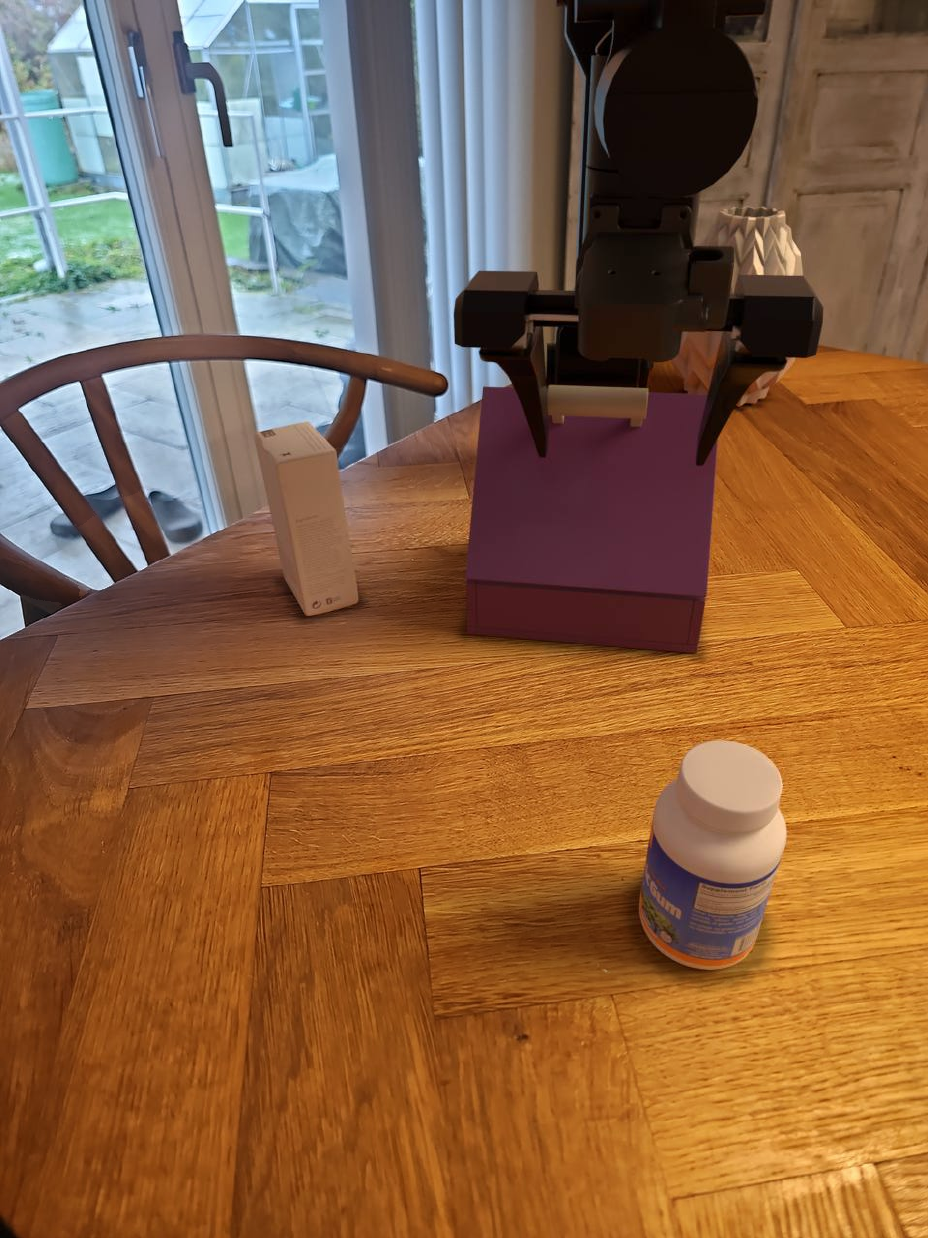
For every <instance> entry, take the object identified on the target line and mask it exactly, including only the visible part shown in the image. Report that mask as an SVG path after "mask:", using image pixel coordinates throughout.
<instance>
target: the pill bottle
mask: <svg viewBox="0 0 928 1238" xmlns="http://www.w3.org/2000/svg"><path fill="white" fill-rule="evenodd" d="M783 785H784V784H783V778H782V775H781V773H780V771H779V769H778V767H777V766H776V764H775V763H774V762H773V761H772V760H771V759H770V758H769V757H768V756H767V755H765V754H764V753H763V752H761V751H760V750H758V749H756V748H754V747H752V746H750V745H747V744H744V743H741V742H737V741H734V740H733V741H732V740H723V739H722V740H720V739H718V740H709V741H704V742H702V743H699V744H696V745H694V746H693V747H692V748H690V749H689V750H688V751H687V752H686V753H684V756H683V758H682V759H681V761H680V765H679V769H678V774H677V777H676V778H675V779H673V780H672V781H670V782H669V783H668V784H667V785H666V786H665V787H663V789H662V791H661V792H660V794H659V795H658V797H657V798H656V802H655V805H654V809H653V815H652V819H651V826H650V830H649V831H650V832H649V838H648V844H647V851H646V857H645V862H644V869H643V875H642V880H641V885H640V886H641V887H640V892H639V901H638V914H639V920H640V923H641V926H642V929H643V931H644V933H645V935H646V937H647V938H648V939H649V941H650V942H651V943H652V945H653V946H654V947H655V948H656V949H657V950H659V951H660V952H661V953H662V954H663V955H664V956H666V957H667V958H669V959H671V960H672V961H674V962H676V963H678V964H681V965H683V966H685V967H689V968H694V969H698V970H708V971H710V970H711V971H712V970H713V971H714V970H721V969H727V968H729V967H730V968H731V967H732V966H734V965H736V964H738V963H740V962H741V961H742V960H744V959H745V958H747V956H748V955H749V953H750V952H751V951H752V949H753V947H754V946H755V943H756V941H757V938H758V935H759V932H760V928H761V926H762V925H761V924H762V921H763V919H764V915H765V911H766V909H767V904H768V901H769V898H770V895H771V892H772V889H773V886H774V883H775V880H776V877H777V873H778V871H779V868H780V864H781V861H782V857H783V855H784V850H785V848H786V844H787V836H788V835H787V825H786V822H785V821H786V820H785V817H784V815H783V813H782V811H781V809H780V802H781V798H782V793H783V789H784V788H783Z"/></svg>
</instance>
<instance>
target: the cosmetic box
mask: <svg viewBox="0 0 928 1238" xmlns="http://www.w3.org/2000/svg"><path fill="white" fill-rule="evenodd" d="M253 437H254V443H255V449H256V453H257V458H258V462H259V467H260V471H261V476H262V482H263V485H264V491H265V495H266V500H267V504H268V509H269V513H270V518H271V522H272V526H273V532H274V536H275V541H276V546H277V550H278V555H279V560H280V565H281V569H282V573H283V578H284V580H285V582H286V584H287V586H288V587H289V589H290V591H291V592H292V594H293V596H294V597H295V600H296V601H297V603H298V605H299V607H300V608H301V610H302V612H303V614H304V615H305V616H306V617H311V616H315V615H316V616H317V615H321V614H325V613H329V612H332V611H336V610H340V609H343V608H347V607H350V606H353V605H356V604H358V602H359V591H358V584H357V578H356V577H357V576H356V573H355V565H354V557H353V552H352V547H351V539H350V533H349V527H348V520H347V513H346V507H345V500H344V494H343V488H342V482H341V476H340V470H339V463H338V455H337V453H338V452H337V450H336V448H335V447H333V445H332V444H330V443H329V441H328V440H327V439H325V437H323V435H322V434H321V433H320V432H319V431H318V430H317V429H316V428H315V426H314V425H313V424H312V423H311V422H310V421H303V422H297V423H293V424H289V425H284V426H279V427H274V428H270V429H266V430H262V431H257V432H254V435H253Z"/></svg>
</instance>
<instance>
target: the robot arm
mask: <svg viewBox="0 0 928 1238" xmlns="http://www.w3.org/2000/svg"><path fill="white" fill-rule="evenodd" d="M766 6H767V0H555V7H556V8H564V29H563V30H564V38H565V41H566V42H567V45H568V48H569V49H570V51H571V54H572V55H573V58H574V60H575V62H576V64H577V66H578V68H579V70H580V73H581V75H582V78H583V83H582V84H583V86H582V88H583V89H582V90H583V91H582V110H581V111H582V112H581V131H580V133H581V134H580V153H579V154H580V158H579V182H578V201H577V202H578V204H577V227H576V251H575V274H574V277H575V279H574V288H573V289H572V290H561V289H559V290H558V289H540V286H539V285H540V283H539V274H538V271H533V270H532V271H530V270H529V271H527V270H526V271H524V270H478V271H477V272H476V273H475V275H474V276H473V277H471V279H470V280H469V281H468V282H467V283H466V285H465V286H464V287H463V289H462V290H461V291H460V293H458V295H457V297H456V298H455V301H454V308H453V337H454V345H456V346H459V347H461V348H469V349H470V348H475V349H479V350H478V355H479V359H480V360H481V361H483V362H485V363H494V364H496V365H497V366H498V367H499V368H500V369H501V370H502V371H503V372H504V374H505V375H506V376H507V378H508V379H509V381H510V383H511V386H512V388H514V389H515V391H516V393H517V395H518V398H519V400H520V403H521V405H522V408H523V411H524V414H525V417H526V420H527V423H528V426H529V429H530V432H531V435H532V438H533V441H534V443H535V446H536V449H537V452H538V455H539V457H541V458H545V457H546V455H547V450H548V435H549V417H548V401H547V389H548V386H549V385H567V386H595V387H623V388H647V389H648V390H649V387H650V383H651V379H652V375H653V370H654V367H655V363H656V364H657V363H666V362H669V361H671V360H672V359H674V358H675V357H676V356H677V355H678V354H679V351H680V343H681V336H682V332H698V331H699V332H705V331H723V332H722V337H721V341H720V345H719V349H718V353H717V357H716V362H715V367H714V370H713V374H712V378H711V383H710V387H709V391H708V395H707V399H706V403H705V408H704V412H703V416H702V420H701V424H700V428H699V433H698V441H697V451H696V465H697V466H703V465H704V463H705V461H706V460H707V458H708V456H709V454H710V452H711V450H712V448H713V446H714V445H715V443H716V441H717V439H718V440H719V437H720V435H721V433H722V431H723V430H724V428H725V426H726V425H727V423H728V420H729V418H730V417H731V415H732V413H733V412H734V410H735V408H736V407H737V406H736V405H737V403H738V402H739V400H740V399H741V398H742V396H743V395H744V394H745V392H746V391H747V389H748V388H749V387H750V386H751V384H752V383H754V382H755V381H756V380H757V379H758V378H759V377H760V376H762V375H763V374H764V373H766V372H779V371H782V370H783V369H784V368H785V366H786V364H787V359H786V357H788V358H796V359H807V358H811V357H815V356H816V355H817V352H818V349H819V344H820V343H819V342H820V339H821V333H822V330H823V329H822V327H823V323H824V306H823V304H822V302H821V300H820V298H819V297H818V295H817V293H816V291H815V290H814V288H813V287H812V285H811V284H810V283H809V281H808V280H807V278H805V276H804V275H803V276H791V275H738V278H737V281H736V285H735V289H734V294H730V291H731V284H732V277H733V269H734V247H732V246H697V245H696V237H697V236H696V235H697V229H698V219H699V212H700V211H699V210H700V203H701V194H702V191H705V190H706V189H708V188H709V187H712V186H714V185H715V184H716V183H717V182H718V181H719V180H721V179H722V178H723V177H724V176H726V175H727V174H728V173H729V172H730V170H732V168H733V167H734V166H735V164H736V163H737V162H738V161H739V159H740V158H741V157H742V155H743V153H744V151H745V150H746V147H747V145H748V144H749V142H750V139H751V137H752V133H753V131H754V127H755V124H756V120H757V116H758V107H759V106H758V105H759V97H758V96H759V95H758V91H757V84H756V79H755V73H754V70H753V68H752V66H751V64H750V61H749V59H748V56H747V53H745V52H744V50H743V49H742V48H741V47H740V45H739V44H738V43H737V41H736V40H735V39H734V38H733V37H731V36H730V35H728V34H727V33H726V32H725V28H726V27H725V26H726V19H727V18H744V17H745V18H746V17H762V16H763V15H764V13H765V9H766ZM544 327H545V328H554V342H546V348H545V339H544V338H545V337H544Z"/></svg>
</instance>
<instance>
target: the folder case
mask: <svg viewBox="0 0 928 1238" xmlns="http://www.w3.org/2000/svg"><path fill="white" fill-rule="evenodd" d="M465 601H466V602H465V603H466V630H467V635H476V636H485V637H499V638H510V639H519V640H520V639H522V640H533V641H546V642H556V643H558V642H559V643H568V644H579V645H580V644H582V645H592V646H593V645H594V646H604V647H615V648H618V647H619V648H628V649H640V650H650V651H651V650H652V651H664V652H674V653H689V654H697V653H698V649H699V644H700V638H701V637H700V636H701V632H702V631H701V630H702V624H703V619H704V613H705V606H706V597H692V596H678V595H665V594H651V593H638V592H624V591H611V590H597V589H584V588H570V587H557V586H543V585H530V584H516V583H503V582H489V581H476V580H466V582H465Z"/></svg>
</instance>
